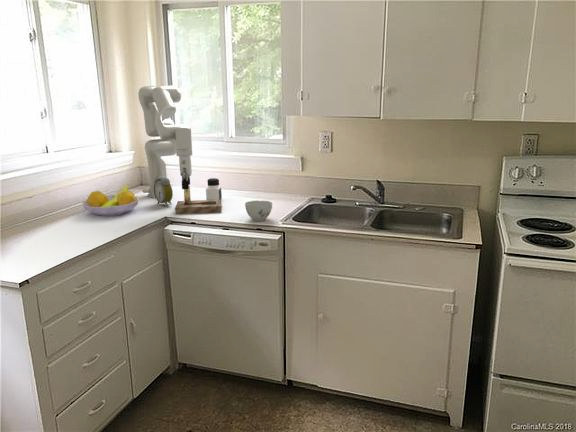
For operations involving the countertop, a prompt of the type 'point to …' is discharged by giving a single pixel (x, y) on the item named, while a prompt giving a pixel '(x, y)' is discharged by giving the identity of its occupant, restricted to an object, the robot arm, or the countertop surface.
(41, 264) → the countertop surface
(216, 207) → the keyhole plate
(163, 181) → the alarm clock
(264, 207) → the teacup
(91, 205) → the fruit bowl
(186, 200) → the peg
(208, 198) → the medicine bottle
